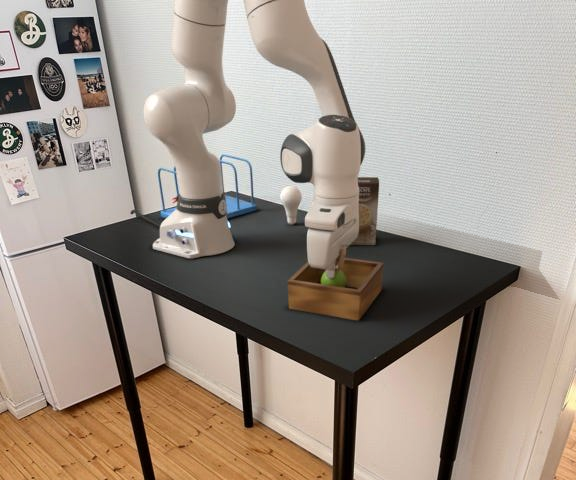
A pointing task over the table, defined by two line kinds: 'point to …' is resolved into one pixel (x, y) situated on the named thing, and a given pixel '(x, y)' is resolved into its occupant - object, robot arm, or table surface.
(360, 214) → the coffee box
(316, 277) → the open wooden box
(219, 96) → the robot arm
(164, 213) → the file sorter
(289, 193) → the lightbulb
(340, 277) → the snail figurine
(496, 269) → the table surface
